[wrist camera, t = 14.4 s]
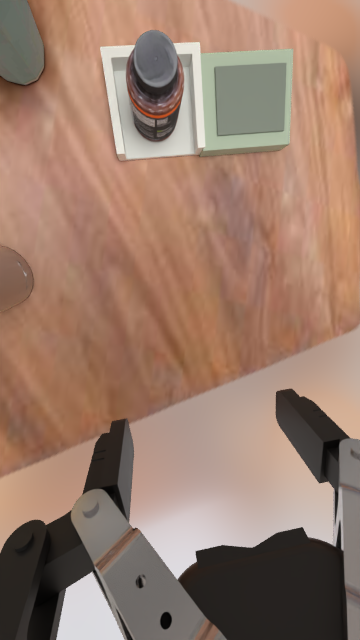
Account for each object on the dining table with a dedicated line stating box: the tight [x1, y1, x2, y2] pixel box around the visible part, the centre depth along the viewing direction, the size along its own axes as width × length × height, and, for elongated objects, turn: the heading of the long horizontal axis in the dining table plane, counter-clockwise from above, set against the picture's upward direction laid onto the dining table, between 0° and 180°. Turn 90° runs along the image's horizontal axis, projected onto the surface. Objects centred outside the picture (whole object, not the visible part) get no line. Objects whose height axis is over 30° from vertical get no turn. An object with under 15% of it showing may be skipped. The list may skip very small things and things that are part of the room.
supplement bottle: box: [126, 30, 184, 142], centre depth 27 cm, size 6×6×11 cm
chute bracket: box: [100, 42, 205, 161], centre depth 31 cm, size 12×10×3 cm
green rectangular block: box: [199, 49, 293, 157], centre depth 32 cm, size 12×10×3 cm
